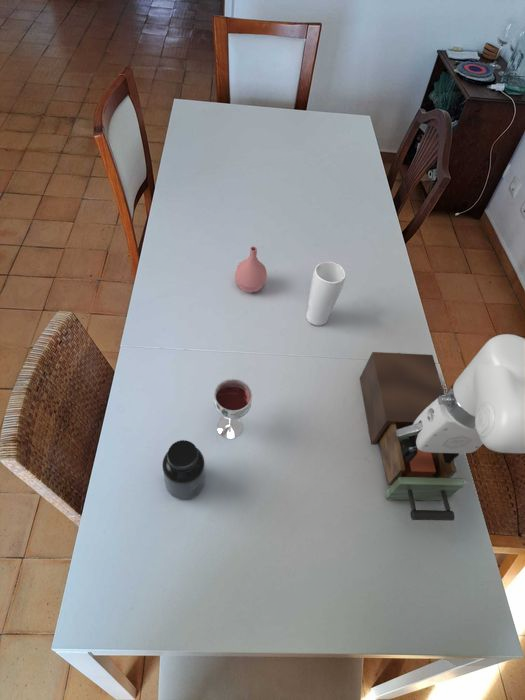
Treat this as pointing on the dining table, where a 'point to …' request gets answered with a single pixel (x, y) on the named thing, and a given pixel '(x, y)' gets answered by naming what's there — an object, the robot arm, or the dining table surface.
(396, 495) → the drawer
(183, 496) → the supplement bottle
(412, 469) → the block
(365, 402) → the cabinet
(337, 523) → the dining table surface
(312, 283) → the drinking glass
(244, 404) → the wineglass
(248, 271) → the pink bulb vase
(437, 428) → the robot arm
